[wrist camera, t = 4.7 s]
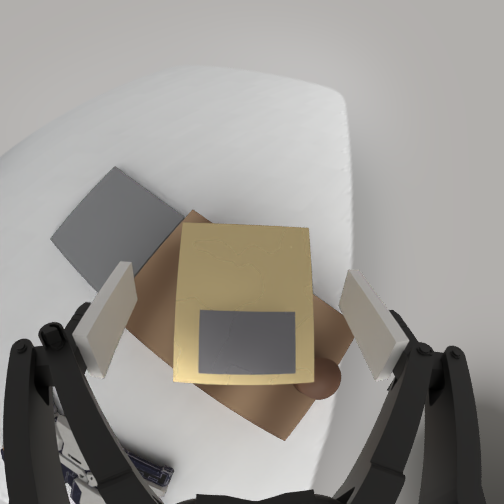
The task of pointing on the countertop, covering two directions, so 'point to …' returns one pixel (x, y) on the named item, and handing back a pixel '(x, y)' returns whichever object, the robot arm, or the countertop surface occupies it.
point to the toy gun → (82, 477)
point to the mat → (115, 228)
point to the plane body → (238, 396)
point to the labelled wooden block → (244, 305)
